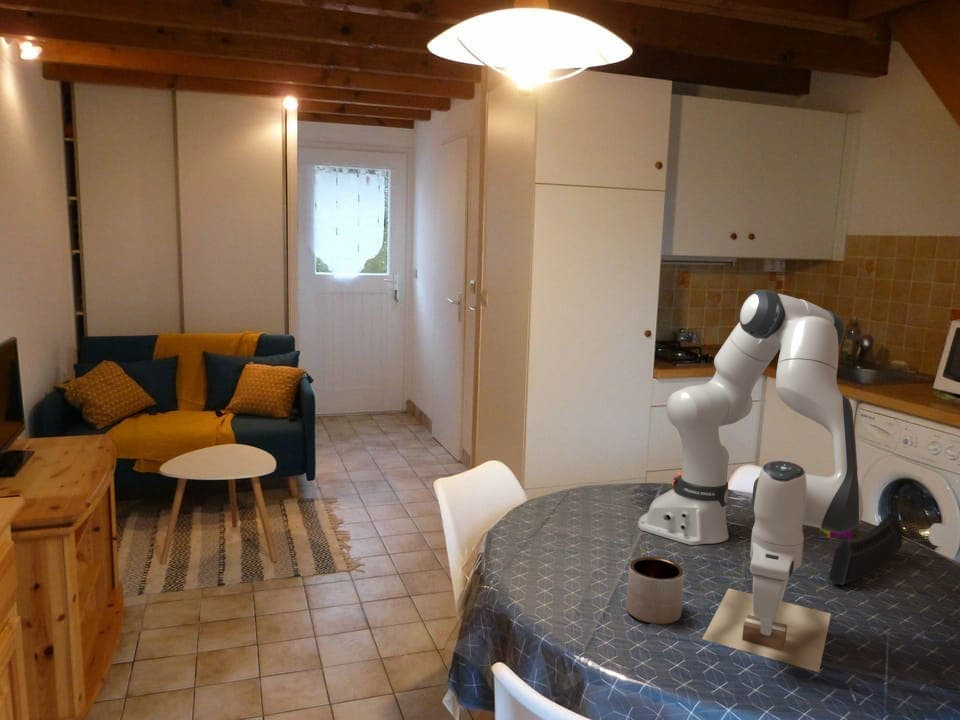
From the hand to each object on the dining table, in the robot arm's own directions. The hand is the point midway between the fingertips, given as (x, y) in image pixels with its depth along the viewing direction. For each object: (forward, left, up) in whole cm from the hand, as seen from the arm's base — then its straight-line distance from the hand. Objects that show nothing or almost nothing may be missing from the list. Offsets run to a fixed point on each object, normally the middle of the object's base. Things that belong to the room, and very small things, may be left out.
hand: (769, 622), depth 137 cm
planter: (-22, 0, -5) cm, 22 cm away
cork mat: (-1, +6, -4) cm, 7 cm away
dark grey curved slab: (+14, +47, -5) cm, 49 cm away
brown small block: (-1, 0, -4) cm, 4 cm away
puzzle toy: (+6, +67, -5) cm, 68 cm away
